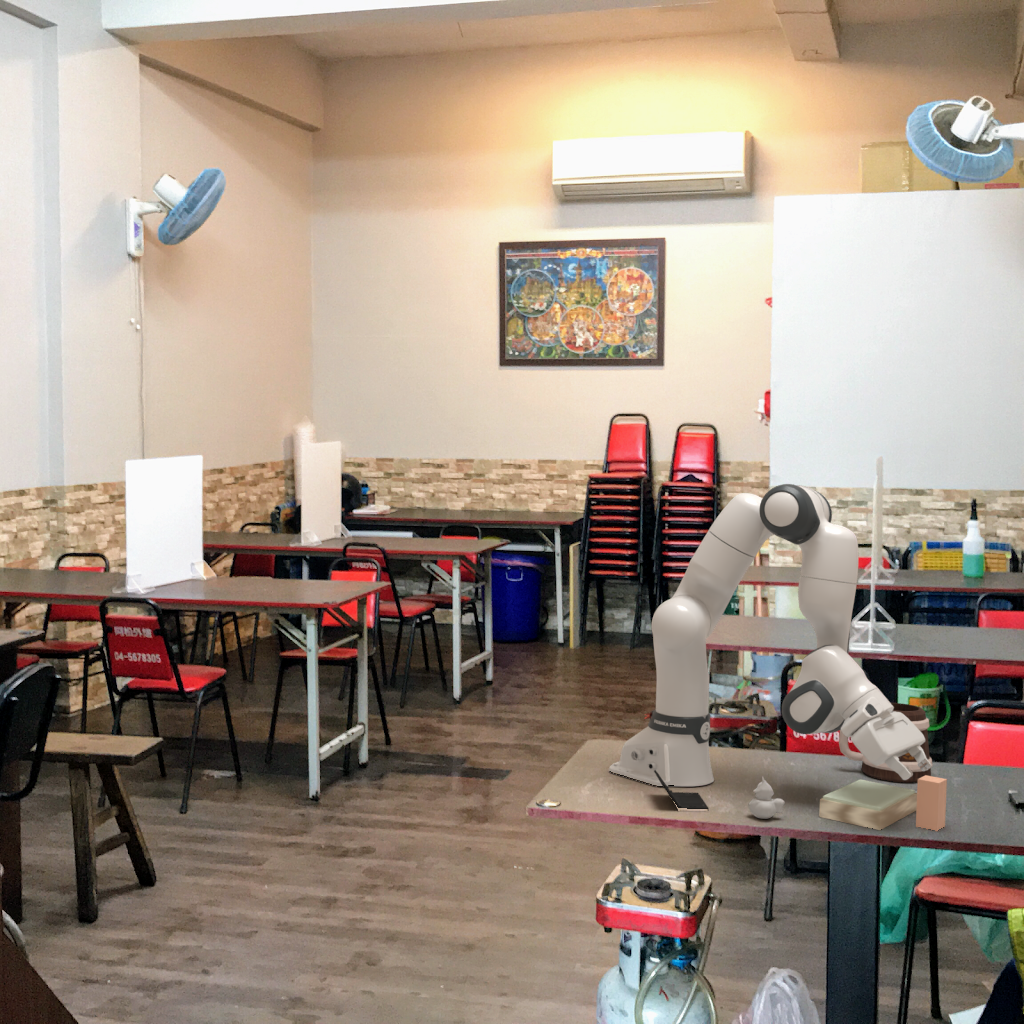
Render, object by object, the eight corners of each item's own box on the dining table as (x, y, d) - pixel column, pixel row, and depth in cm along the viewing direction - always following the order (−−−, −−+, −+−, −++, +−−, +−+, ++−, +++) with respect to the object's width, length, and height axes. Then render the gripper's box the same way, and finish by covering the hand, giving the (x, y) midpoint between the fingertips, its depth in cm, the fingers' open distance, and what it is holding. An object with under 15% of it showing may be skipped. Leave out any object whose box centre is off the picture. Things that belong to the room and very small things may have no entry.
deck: (819, 816, 228) (820, 796, 227) (858, 798, 241) (859, 778, 241) (880, 830, 220) (880, 808, 220) (916, 810, 234) (917, 790, 234)
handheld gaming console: (719, 803, 230) (688, 762, 229) (691, 827, 228) (659, 786, 228) (698, 795, 241) (669, 756, 241) (672, 818, 239) (642, 779, 239)
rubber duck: (748, 812, 229) (749, 771, 229) (783, 815, 228) (784, 774, 228) (748, 820, 224) (749, 778, 223) (784, 823, 223) (785, 781, 222)
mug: (925, 768, 268) (928, 702, 267) (938, 786, 253) (941, 716, 252) (833, 763, 271) (836, 697, 270) (841, 780, 256) (844, 710, 255)
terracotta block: (915, 826, 223) (917, 779, 222) (923, 822, 226) (925, 775, 225) (937, 831, 220) (939, 783, 220) (944, 826, 223) (946, 779, 223)
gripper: (880, 716, 240) (927, 773, 234) (836, 731, 224) (885, 793, 218) (902, 697, 237) (950, 754, 231) (859, 711, 221) (910, 772, 215)
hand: (918, 773), depth 225 cm, fingers open, 8 cm apart
